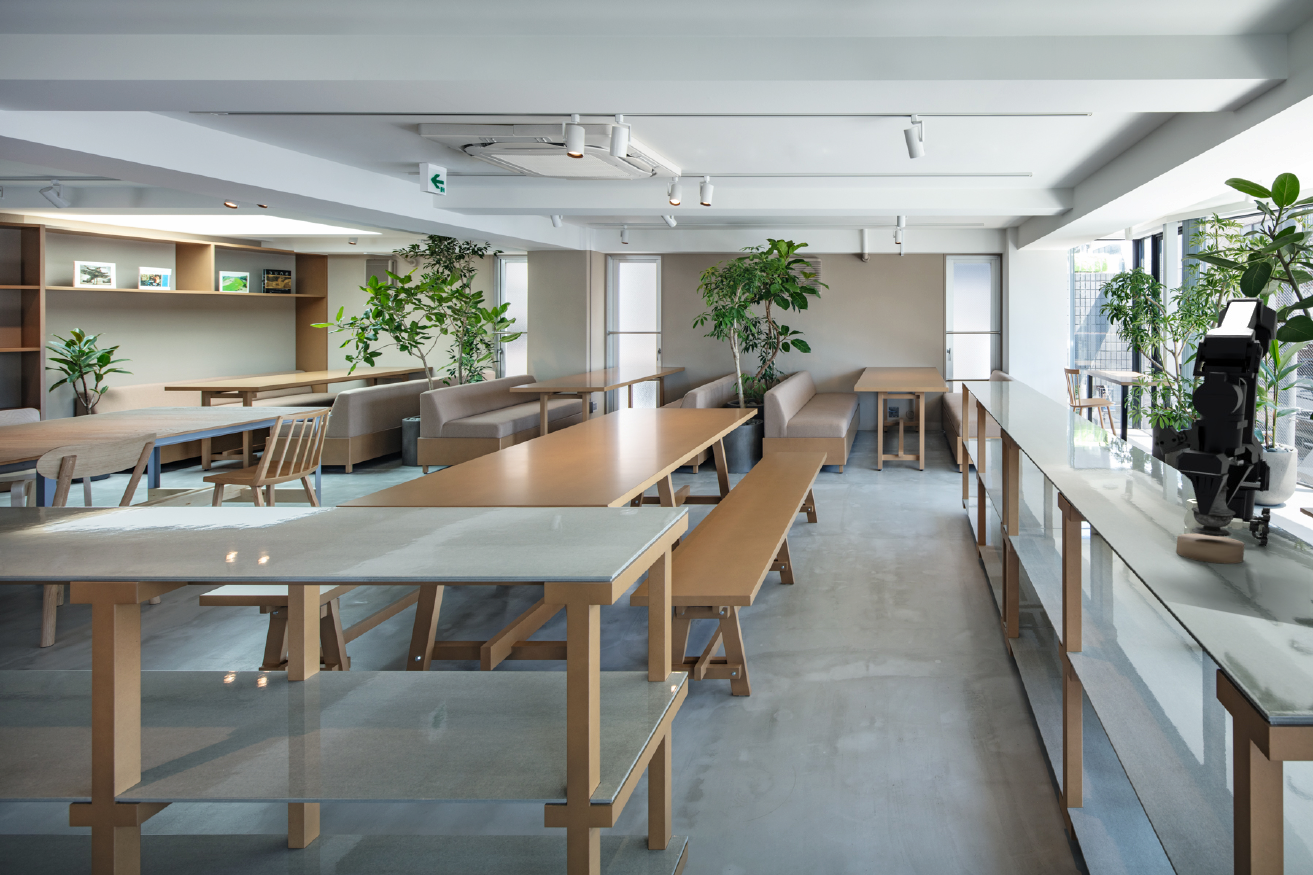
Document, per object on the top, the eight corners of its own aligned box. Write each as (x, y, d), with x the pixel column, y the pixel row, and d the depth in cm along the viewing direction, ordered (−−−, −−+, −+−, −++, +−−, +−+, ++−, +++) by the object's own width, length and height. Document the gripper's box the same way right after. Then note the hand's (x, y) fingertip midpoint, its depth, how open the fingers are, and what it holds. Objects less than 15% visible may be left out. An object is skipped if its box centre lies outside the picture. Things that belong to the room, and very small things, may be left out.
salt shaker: (1196, 535, 132) (1202, 460, 130) (1184, 526, 138) (1190, 454, 136) (1239, 538, 130) (1246, 462, 129) (1225, 529, 136) (1232, 456, 134)
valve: (1181, 540, 145) (1267, 550, 138) (1185, 503, 144) (1271, 511, 137) (1182, 532, 150) (1265, 542, 144) (1186, 496, 149) (1269, 504, 143)
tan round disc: (1181, 545, 141) (1182, 530, 140) (1246, 554, 135) (1247, 539, 135) (1171, 556, 134) (1172, 541, 134) (1239, 566, 128) (1241, 551, 128)
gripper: (1186, 405, 143) (1178, 495, 146) (1142, 413, 132) (1135, 510, 134) (1263, 411, 135) (1254, 505, 137) (1225, 419, 123) (1215, 523, 125)
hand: (1213, 510), depth 134 cm, fingers closed on salt shaker, 8 cm apart
